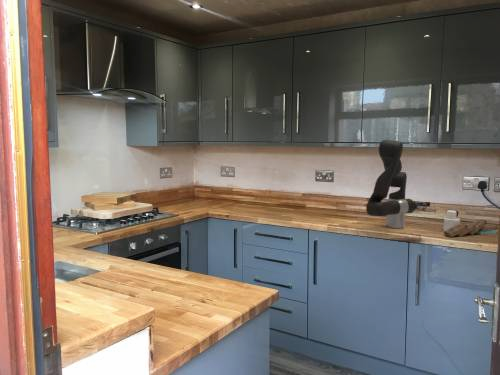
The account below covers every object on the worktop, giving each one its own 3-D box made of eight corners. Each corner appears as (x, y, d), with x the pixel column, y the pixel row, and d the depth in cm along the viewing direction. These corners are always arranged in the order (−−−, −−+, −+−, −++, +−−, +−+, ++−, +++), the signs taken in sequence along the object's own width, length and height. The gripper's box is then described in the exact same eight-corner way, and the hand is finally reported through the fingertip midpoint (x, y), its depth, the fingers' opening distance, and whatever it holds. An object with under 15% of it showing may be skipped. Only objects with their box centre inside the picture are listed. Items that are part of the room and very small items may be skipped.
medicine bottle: (446, 228, 246) (447, 208, 244) (459, 230, 241) (460, 210, 240) (443, 230, 240) (444, 210, 239) (456, 232, 236) (457, 211, 234)
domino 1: (443, 231, 227) (459, 223, 231) (444, 235, 227) (459, 226, 231) (451, 233, 222) (466, 224, 226) (452, 237, 223) (467, 228, 227)
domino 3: (463, 230, 233) (478, 218, 236) (464, 233, 234) (479, 221, 237) (471, 231, 229) (485, 220, 232) (472, 235, 229) (487, 223, 232)
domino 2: (451, 231, 229) (467, 223, 233) (452, 234, 230) (468, 226, 234) (459, 233, 225) (475, 225, 229) (460, 236, 225) (475, 228, 229)
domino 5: (474, 229, 236) (491, 228, 239) (473, 233, 236) (491, 232, 239) (480, 231, 231) (498, 230, 234) (480, 235, 231) (498, 234, 234)
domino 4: (475, 226, 235) (488, 224, 240) (475, 230, 235) (488, 228, 241) (484, 228, 230) (497, 226, 236) (483, 231, 231) (497, 229, 236)
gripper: (412, 201, 205) (439, 199, 212) (394, 197, 217) (420, 195, 224) (411, 216, 206) (438, 213, 213) (393, 211, 219) (419, 208, 225)
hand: (429, 204), depth 218 cm, fingers closed
